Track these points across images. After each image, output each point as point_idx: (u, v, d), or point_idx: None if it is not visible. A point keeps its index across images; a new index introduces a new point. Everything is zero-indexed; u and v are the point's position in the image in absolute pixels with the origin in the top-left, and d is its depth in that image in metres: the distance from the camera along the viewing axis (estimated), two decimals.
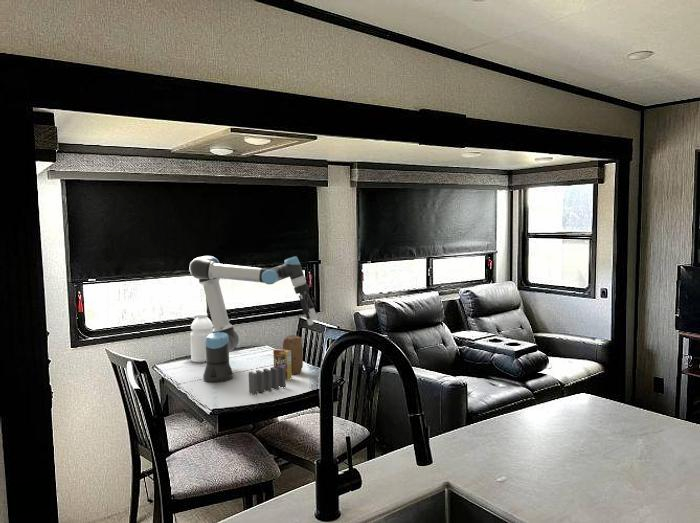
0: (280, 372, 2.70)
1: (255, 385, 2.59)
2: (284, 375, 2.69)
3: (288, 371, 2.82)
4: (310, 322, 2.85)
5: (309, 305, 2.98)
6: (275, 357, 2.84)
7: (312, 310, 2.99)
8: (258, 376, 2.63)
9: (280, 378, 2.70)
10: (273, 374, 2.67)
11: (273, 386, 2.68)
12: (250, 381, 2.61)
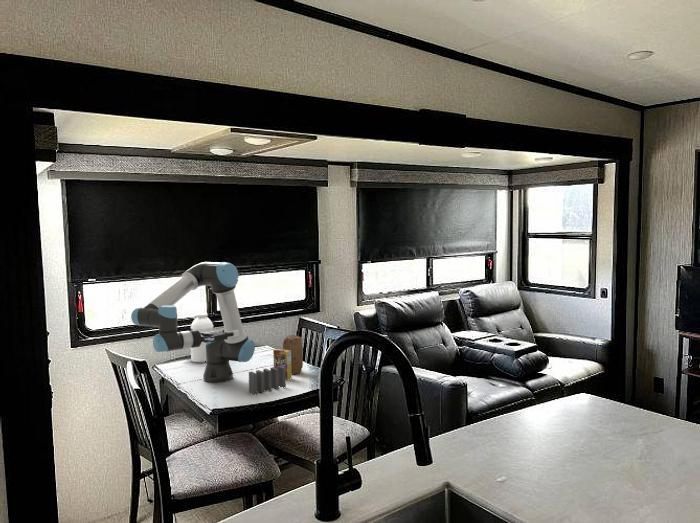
0: (280, 372, 2.70)
1: (255, 385, 2.59)
2: (284, 375, 2.69)
3: (288, 371, 2.82)
4: None
5: None
6: (275, 357, 2.84)
7: None
8: (258, 376, 2.63)
9: (280, 378, 2.70)
10: (273, 374, 2.67)
11: (273, 386, 2.68)
12: (250, 381, 2.61)
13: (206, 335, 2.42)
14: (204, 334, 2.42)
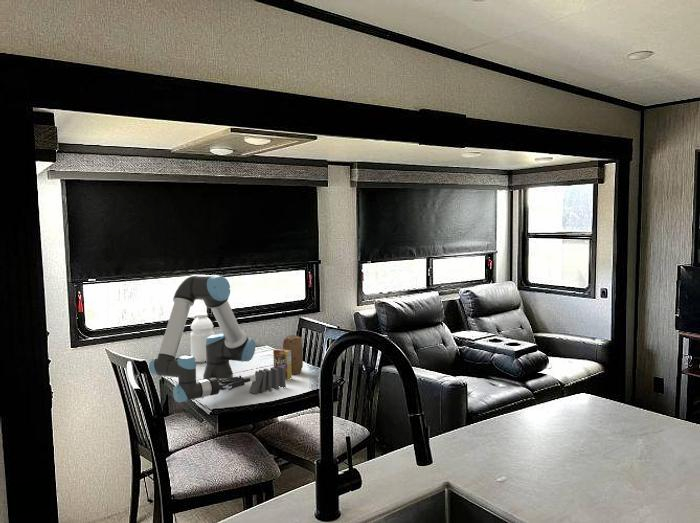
0: (280, 372, 2.70)
1: (258, 384, 2.60)
2: (284, 375, 2.69)
3: (288, 371, 2.82)
4: None
5: None
6: (275, 357, 2.84)
7: None
8: None
9: (280, 378, 2.70)
10: (273, 374, 2.67)
11: (273, 386, 2.68)
12: None
13: (224, 382, 2.49)
14: (222, 382, 2.49)
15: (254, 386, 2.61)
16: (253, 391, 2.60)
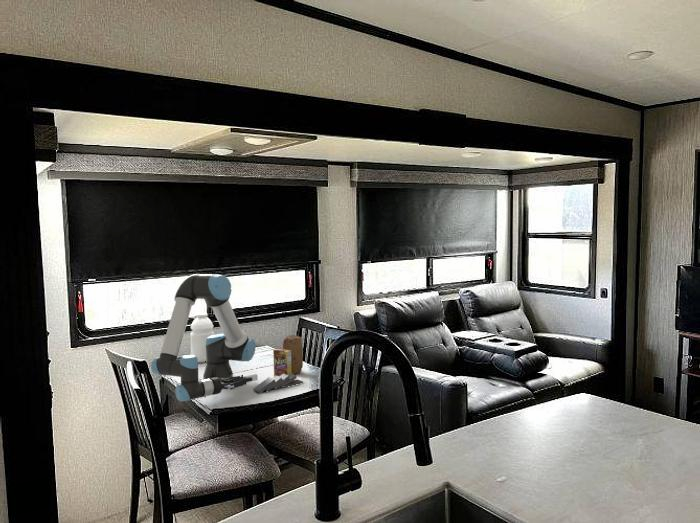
0: (296, 381, 2.76)
1: (266, 387, 2.62)
2: None
3: (288, 371, 2.82)
4: None
5: None
6: (275, 357, 2.84)
7: None
8: None
9: (291, 382, 2.74)
10: None
11: None
12: (263, 382, 2.65)
13: (226, 382, 2.50)
14: (224, 381, 2.49)
15: (261, 386, 2.63)
16: (257, 389, 2.61)
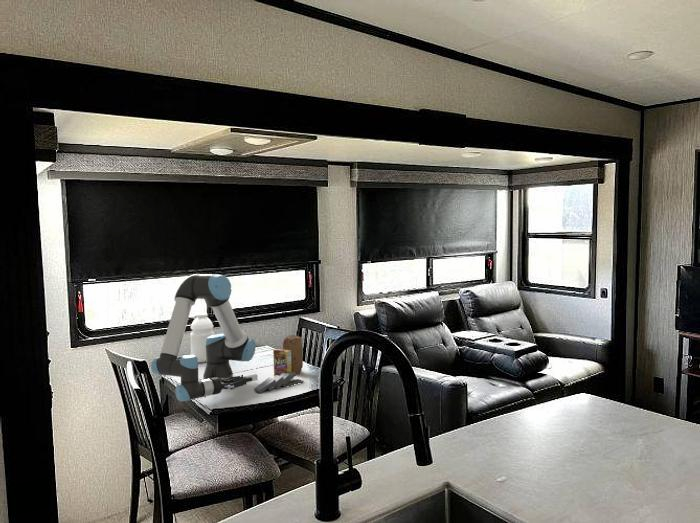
0: (297, 381, 2.77)
1: (266, 387, 2.63)
2: None
3: (288, 371, 2.82)
4: None
5: None
6: (275, 357, 2.84)
7: None
8: (275, 378, 2.70)
9: (292, 382, 2.75)
10: None
11: None
12: (264, 382, 2.66)
13: (226, 382, 2.50)
14: (224, 381, 2.49)
15: (261, 386, 2.63)
16: (258, 389, 2.61)
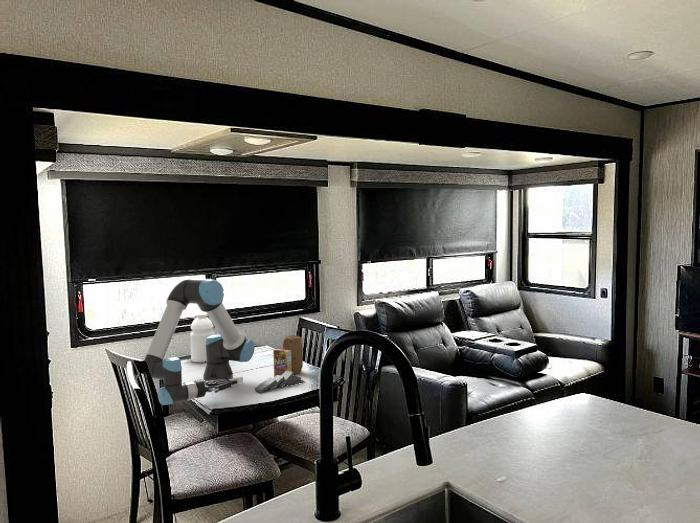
0: (298, 381, 2.77)
1: (267, 387, 2.63)
2: None
3: None
4: None
5: None
6: (275, 357, 2.84)
7: None
8: (276, 378, 2.71)
9: None
10: (293, 377, 2.78)
11: None
12: (265, 382, 2.66)
13: (210, 385, 2.45)
14: (208, 384, 2.44)
15: (262, 386, 2.64)
16: (259, 389, 2.62)
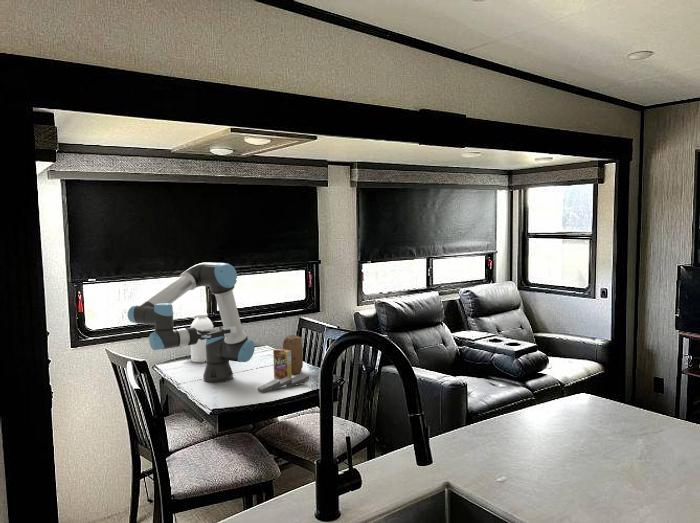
0: None
1: (270, 387, 2.63)
2: None
3: (288, 371, 2.82)
4: None
5: None
6: (275, 357, 2.84)
7: None
8: (284, 379, 2.70)
9: None
10: None
11: None
12: (269, 383, 2.67)
13: (203, 332, 2.41)
14: (201, 331, 2.41)
15: (265, 386, 2.64)
16: (261, 388, 2.62)
